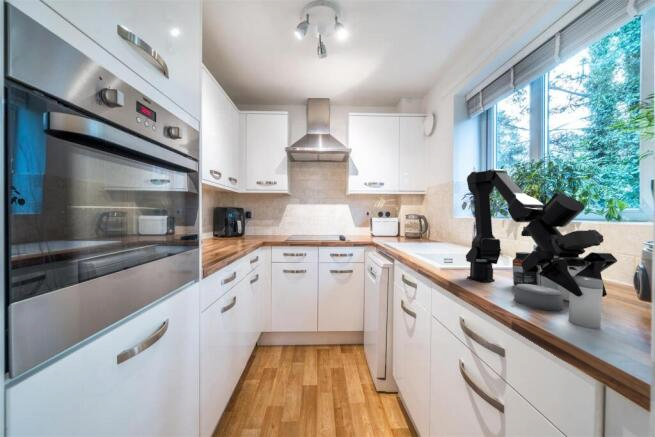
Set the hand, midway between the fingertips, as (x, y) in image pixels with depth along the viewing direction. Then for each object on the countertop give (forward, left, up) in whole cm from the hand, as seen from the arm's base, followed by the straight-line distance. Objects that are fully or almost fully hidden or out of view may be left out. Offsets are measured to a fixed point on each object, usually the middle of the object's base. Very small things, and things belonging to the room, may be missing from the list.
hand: (592, 295), depth 55 cm
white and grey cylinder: (-1, 0, -7) cm, 7 cm away
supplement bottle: (-24, +18, -7) cm, 30 cm away
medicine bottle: (-11, +19, -7) cm, 23 cm away
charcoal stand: (-13, +4, -7) cm, 15 cm away
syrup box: (-18, +20, -6) cm, 28 cm away
